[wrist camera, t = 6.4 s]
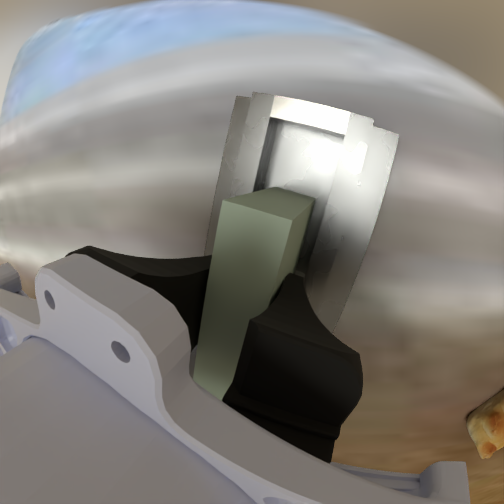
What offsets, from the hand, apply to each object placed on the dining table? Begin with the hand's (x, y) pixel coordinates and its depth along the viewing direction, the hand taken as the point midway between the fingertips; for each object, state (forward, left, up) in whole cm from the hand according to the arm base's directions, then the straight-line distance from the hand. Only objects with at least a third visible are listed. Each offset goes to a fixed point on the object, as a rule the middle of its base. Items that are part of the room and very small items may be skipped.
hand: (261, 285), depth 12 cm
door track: (-2, 0, -3) cm, 4 cm away
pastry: (-6, -22, -4) cm, 23 cm away
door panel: (0, 0, -2) cm, 2 cm away
